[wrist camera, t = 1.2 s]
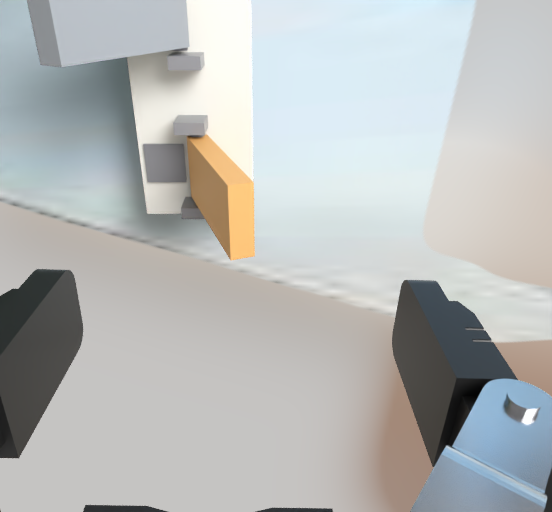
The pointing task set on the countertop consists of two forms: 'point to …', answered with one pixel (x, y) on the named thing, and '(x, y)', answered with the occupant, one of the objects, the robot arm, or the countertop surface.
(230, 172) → the orange switch
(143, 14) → the grey switch
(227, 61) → the power strip
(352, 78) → the countertop surface
